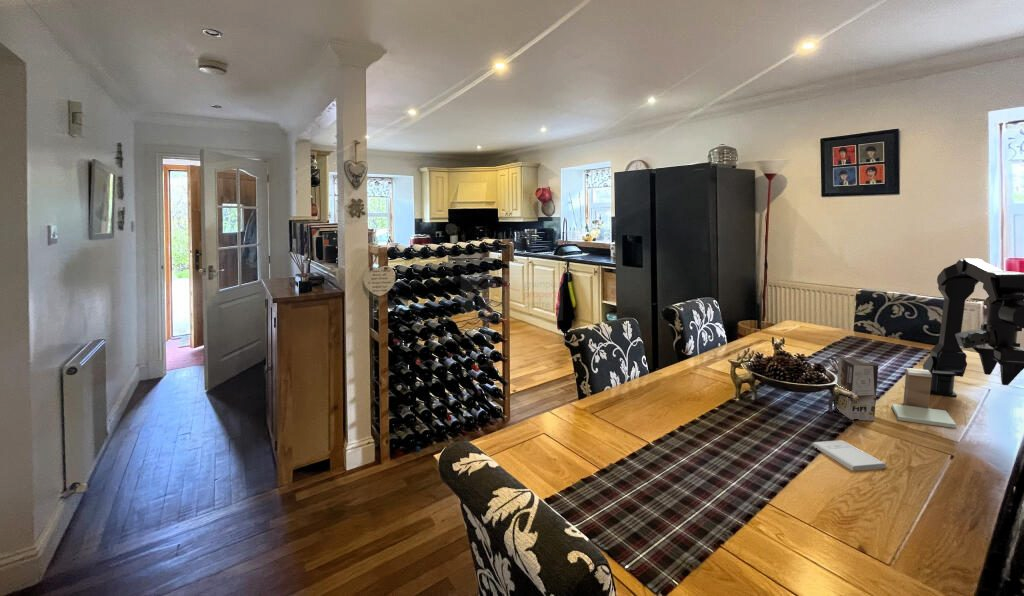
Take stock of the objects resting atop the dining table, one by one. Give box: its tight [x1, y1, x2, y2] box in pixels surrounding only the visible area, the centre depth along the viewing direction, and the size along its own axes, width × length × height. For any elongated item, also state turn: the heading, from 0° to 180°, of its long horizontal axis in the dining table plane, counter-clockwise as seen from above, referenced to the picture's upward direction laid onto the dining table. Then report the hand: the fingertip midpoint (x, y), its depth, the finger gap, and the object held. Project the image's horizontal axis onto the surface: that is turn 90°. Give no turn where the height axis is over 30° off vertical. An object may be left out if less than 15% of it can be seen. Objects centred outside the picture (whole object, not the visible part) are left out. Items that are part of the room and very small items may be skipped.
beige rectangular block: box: [902, 367, 932, 409], centre depth 139 cm, size 5×5×11 cm
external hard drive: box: [812, 439, 887, 472], centre depth 112 cm, size 2×8×12 cm
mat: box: [891, 403, 957, 429], centre depth 132 cm, size 11×12×1 cm
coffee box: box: [836, 356, 880, 422], centre depth 135 cm, size 9×6×16 cm
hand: (995, 379), depth 122 cm, fingers open, 9 cm apart
